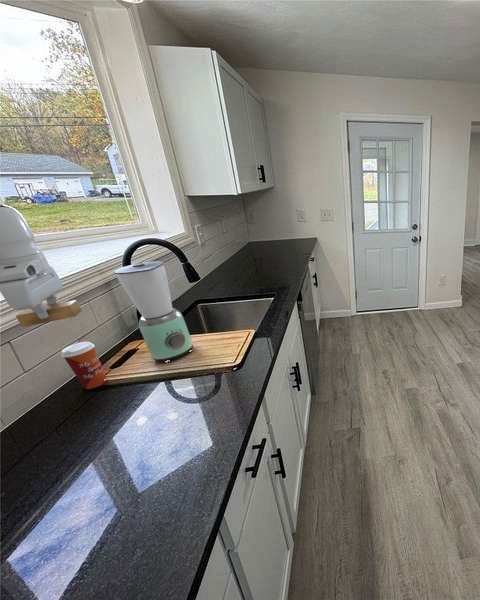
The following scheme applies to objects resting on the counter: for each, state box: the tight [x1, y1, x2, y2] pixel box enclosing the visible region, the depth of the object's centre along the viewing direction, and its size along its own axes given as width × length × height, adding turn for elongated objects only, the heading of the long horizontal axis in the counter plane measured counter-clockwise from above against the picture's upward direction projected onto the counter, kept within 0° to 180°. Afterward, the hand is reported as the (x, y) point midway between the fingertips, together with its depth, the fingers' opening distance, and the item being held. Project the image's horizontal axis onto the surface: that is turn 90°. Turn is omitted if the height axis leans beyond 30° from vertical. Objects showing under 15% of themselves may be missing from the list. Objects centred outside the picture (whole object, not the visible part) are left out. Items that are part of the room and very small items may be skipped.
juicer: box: [113, 260, 194, 363], centre depth 111 cm, size 19×13×35 cm
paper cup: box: [60, 341, 108, 390], centre depth 100 cm, size 8×8×14 cm
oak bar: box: [15, 299, 83, 328], centre depth 88 cm, size 11×5×4 cm, turn 119°
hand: (50, 313), depth 88 cm, fingers closed on oak bar, 5 cm apart
